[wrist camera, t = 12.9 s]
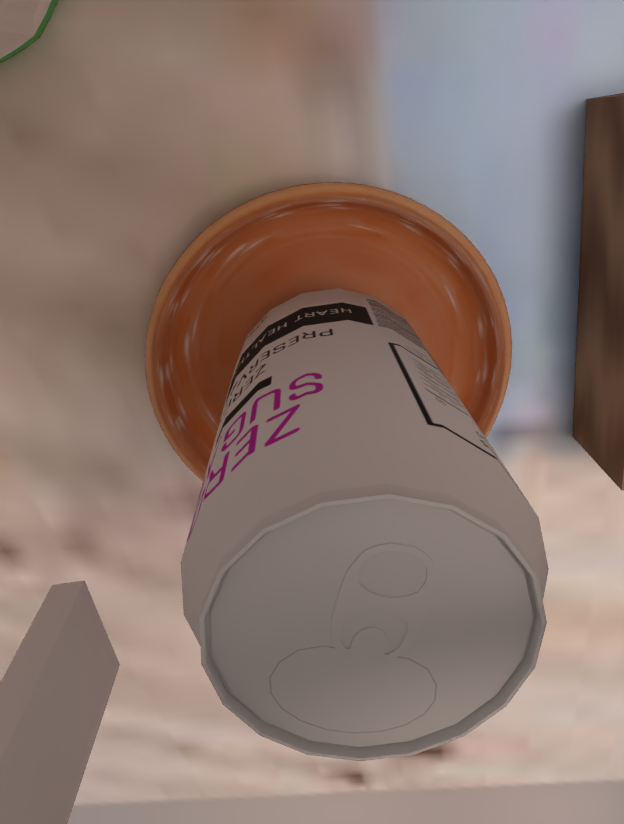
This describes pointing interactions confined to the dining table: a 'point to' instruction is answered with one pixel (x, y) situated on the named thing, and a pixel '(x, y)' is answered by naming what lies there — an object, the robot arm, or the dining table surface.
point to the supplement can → (358, 542)
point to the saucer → (314, 271)
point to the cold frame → (602, 291)
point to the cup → (22, 24)
